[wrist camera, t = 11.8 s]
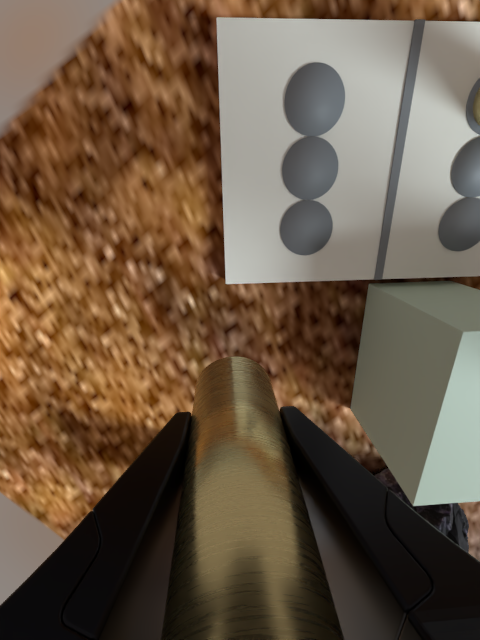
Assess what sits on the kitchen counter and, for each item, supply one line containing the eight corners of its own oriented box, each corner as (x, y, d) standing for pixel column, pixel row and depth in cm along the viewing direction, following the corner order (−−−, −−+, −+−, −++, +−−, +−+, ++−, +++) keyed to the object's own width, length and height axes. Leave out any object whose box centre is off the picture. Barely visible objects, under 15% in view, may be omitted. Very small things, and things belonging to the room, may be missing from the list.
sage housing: (450, 280, 21) (593, 326, 13) (419, 404, 25) (513, 498, 17) (368, 283, 20) (463, 331, 12) (350, 408, 24) (412, 506, 16)
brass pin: (271, 353, 9) (383, 680, 3) (271, 417, 10) (357, 769, 4) (191, 359, 9) (125, 712, 3) (199, 423, 10) (163, 796, 4)
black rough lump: (458, 448, 28) (567, 560, 18) (445, 549, 32) (530, 685, 22) (319, 458, 29) (354, 571, 19) (323, 556, 32) (354, 690, 23)
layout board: (580, 36, 16) (915, -123, 8) (505, 271, 21) (672, 308, 13) (216, 31, 15) (212, -156, 7) (225, 279, 20) (228, 325, 12)
